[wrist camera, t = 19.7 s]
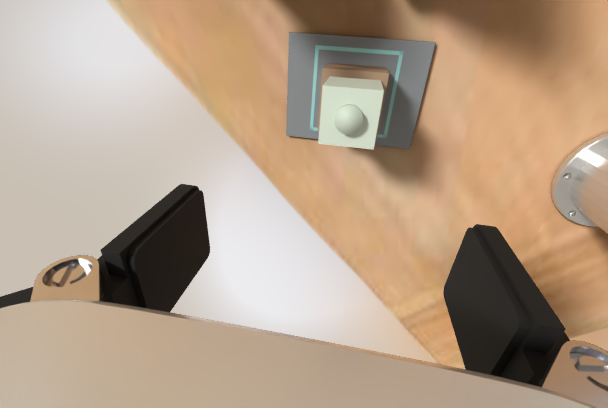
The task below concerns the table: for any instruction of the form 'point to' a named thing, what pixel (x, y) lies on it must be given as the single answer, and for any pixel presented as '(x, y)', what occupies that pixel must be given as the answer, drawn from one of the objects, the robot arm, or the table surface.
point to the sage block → (350, 112)
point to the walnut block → (357, 73)
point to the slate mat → (358, 51)
